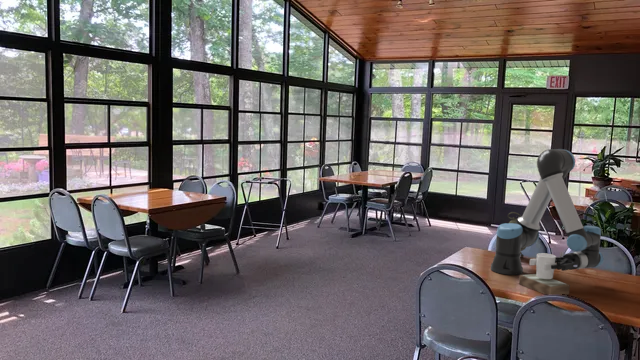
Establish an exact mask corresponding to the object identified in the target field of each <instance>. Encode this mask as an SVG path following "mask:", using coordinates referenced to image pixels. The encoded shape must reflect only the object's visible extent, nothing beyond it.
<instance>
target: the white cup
mask: <svg viewBox="0 0 640 360" xmlns="http://www.w3.org/2000/svg"><path fill="white" fill-rule="evenodd" d="M556 257H557V256H556V255H555V254H551V253H546V252H541V253H540V252H539V253H536V258H535V259H536V265H535V267H536V268H535V270H536V273H535V274H536V276H537V277H539V278H542V279H554V272H555V269H554V270H544V264H549V263H555V259H556Z"/></svg>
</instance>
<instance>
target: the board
mask: <svg viewBox="0 0 640 360" xmlns="http://www.w3.org/2000/svg"><path fill="white" fill-rule="evenodd" d="M518 280H519V281H518V285H520V286H523V287H526V288H528V289H530V290H534V291H535V292H538V293H541V294H544V295H545V294H565V295H570V287H571V284H568V283H565V282H563V281H560V280H557V279H554V278H552V279H542V278H539V277H537V276H536V273H533V274H520V275H519V279H518Z"/></svg>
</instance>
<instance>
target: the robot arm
mask: <svg viewBox="0 0 640 360" xmlns="http://www.w3.org/2000/svg"><path fill="white" fill-rule="evenodd" d="M575 166H576V158H575V156H574V154H573V153H572V152H571V151H570V150H567V149H563V148H558V149H557V148H556V149H553V148H552V149H551V148H550V149H546V150H544V151H542V152H541V153H540V154H539V155H538V157H537V160H536V167H537V171H538V174H539V176H540V178H539V180H538V182H537V185H536V186H535V189H534V191H533V193H532V195H531V197H530V199H529V201H528V204H527V205H526V207H525V209H524V211H523V214H522V215H521V217H520V216H518V218H516V219H517V220H515V221H516V223H515V224H514V223H509V222H508V223H506V222H505V223H501V224H499V225H498V226H497V228H496V243H495V255H494V257H493V259H492V262H491V264H490V270H491V271H492V272H494V273H497V274H501V275H507V276H508V275H509V276H517V275H518V276H521V275H523V273H524V271H523V270H524V268H523V266H522V265H523V264H522V260H521V254H520V252H521V253H522V251H521V248H524V247H526V248H528V247H531V246H533V245H534V244H536V243H537V242H538V240H539V238H540V232H539V231H540V229H541V226H540V222H541V221H542V218H543V216H544V214H545V212H546V209H547V207H548V205H549V203H550V201H551V200H552V202H553V204H554V206H555V209H556V211H557V214H558V216H559V218H560V221H561V223H562V226H563V228H564V231H565V233H566V236H567V238H566V246H567V247H568V248H569V249H570V250H571V251H574V252H567V253H565V254H564V255H562V256H556V259H555V263H549V264H544V270H554V271H555V270H561V271H563V272H564V271H568V270H570V271H571V270H572V271H573V270H577V271H578V270H580V269H581V270H582V269H593V268H598V267H600V266H602V265H603V263H604V260H605V259H604V256H603V254H602V252H600V247H601V246H600V245H601V237H602V229H601V227H599V226H594V225H583V224H582V220H581V219H580V217H579V216H580V215H579V214H578V212H577V209H576V206H575V205H574V201H573V200H572V199H573V198H572V197H571V195H570V193H569V190H568V187H567V186H566V183H565V181H564V180H565V179H566V177H567V175H568V173H570V172H571V171H573V169H574V168H575ZM536 259H537V258H530V259H529V263H528V264H529V266H536Z"/></svg>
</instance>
